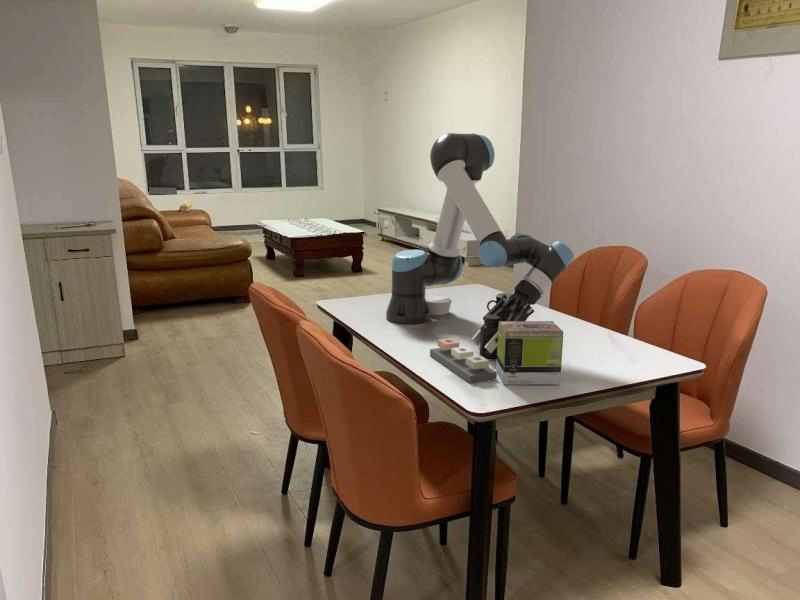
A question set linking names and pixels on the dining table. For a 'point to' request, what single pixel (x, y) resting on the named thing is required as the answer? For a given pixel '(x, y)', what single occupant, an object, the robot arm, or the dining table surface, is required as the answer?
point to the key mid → (462, 352)
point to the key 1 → (448, 344)
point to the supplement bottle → (488, 335)
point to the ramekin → (438, 304)
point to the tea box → (529, 352)
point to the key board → (462, 367)
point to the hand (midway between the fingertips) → (480, 346)
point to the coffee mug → (498, 297)
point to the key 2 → (477, 362)
